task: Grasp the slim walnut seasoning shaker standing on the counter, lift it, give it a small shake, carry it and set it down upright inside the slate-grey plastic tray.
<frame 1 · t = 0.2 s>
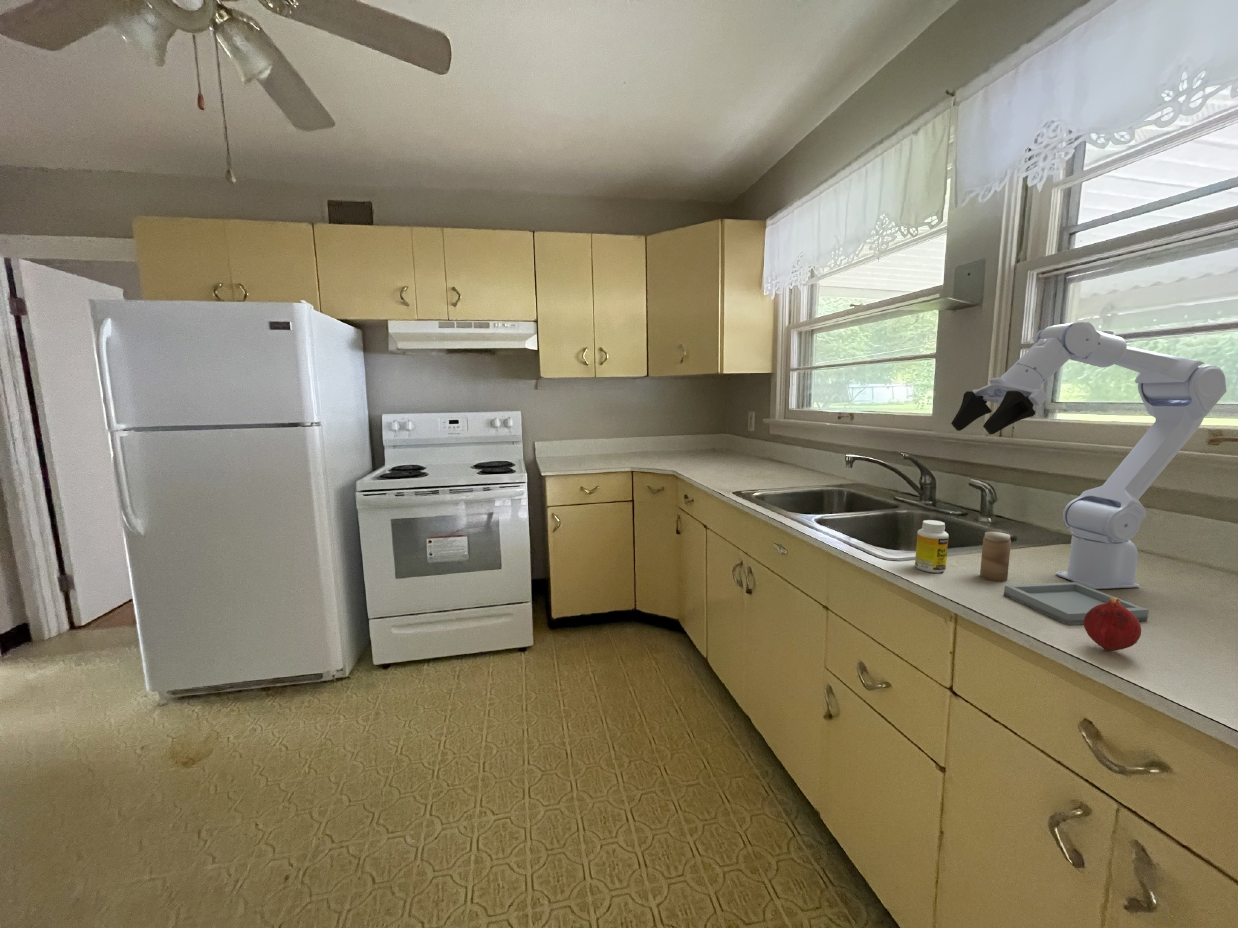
hand: (970, 428, 90), 30 cm above the counter, tool tilted 45°, fingers open, 7 cm apart
supplement bottle: (930, 569, 104), on the counter
tray: (1070, 606, 85), on the counter
shaker: (993, 577, 99), on the counter
onion: (1108, 652, 71), on the counter
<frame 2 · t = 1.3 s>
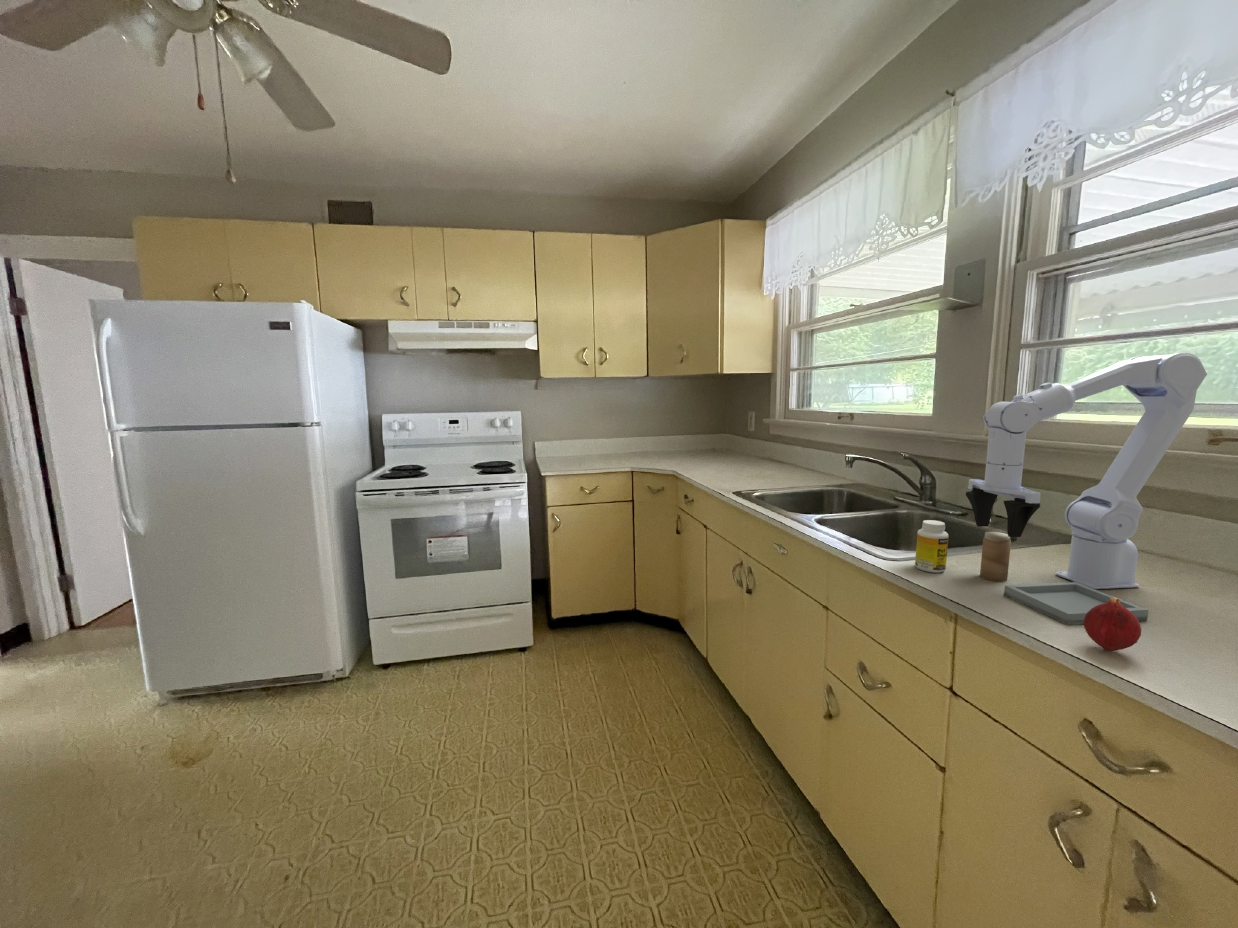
hand: (997, 531, 98), 10 cm above the counter, tool pointing down, fingers open, 7 cm apart
nothing on the counter moved.
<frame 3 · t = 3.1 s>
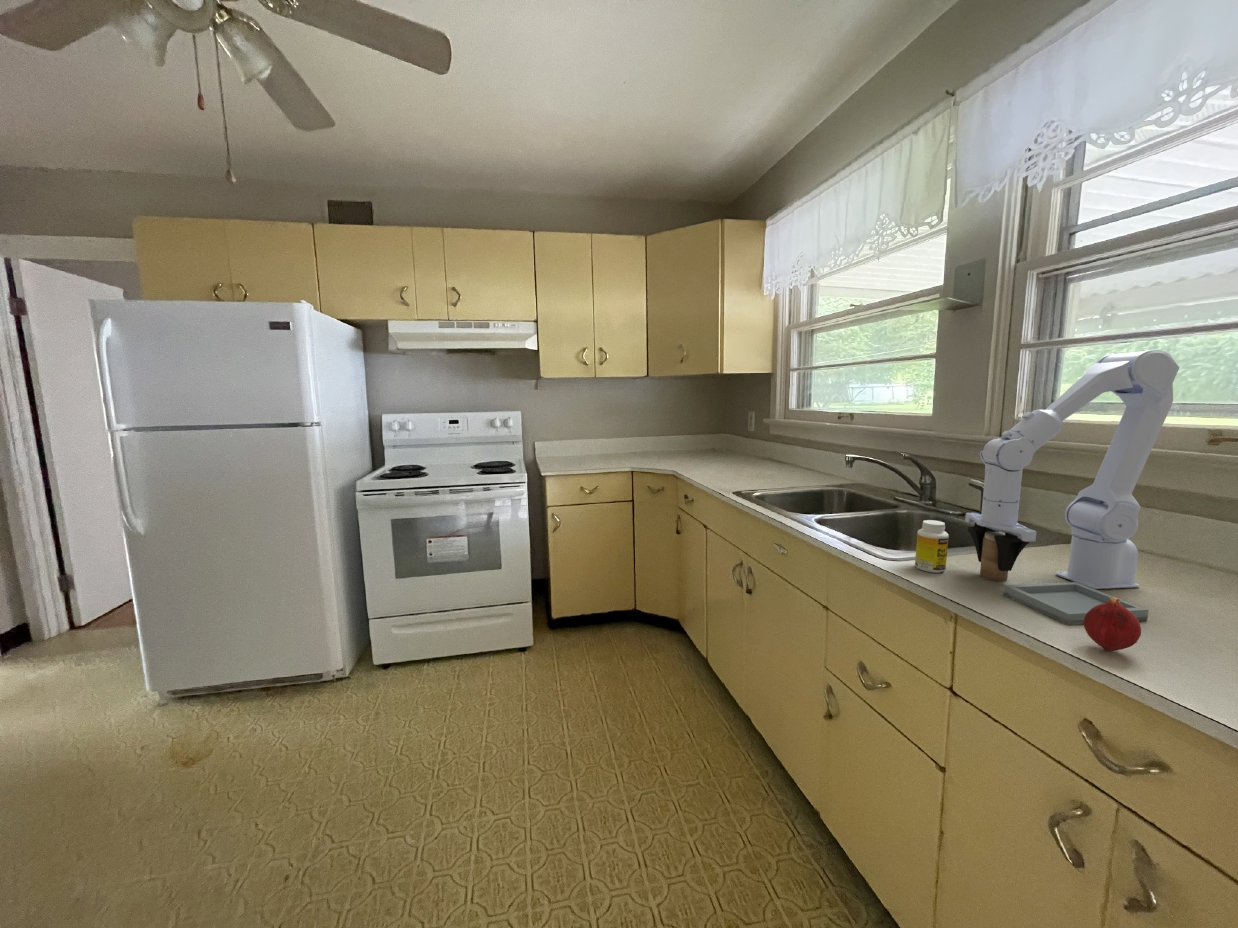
hand: (994, 565, 99), 2 cm above the counter, tool pointing down, fingers closed on shaker, 4 cm apart
shaker: (993, 577, 99), on the counter, touching gripper
everything else where it was.
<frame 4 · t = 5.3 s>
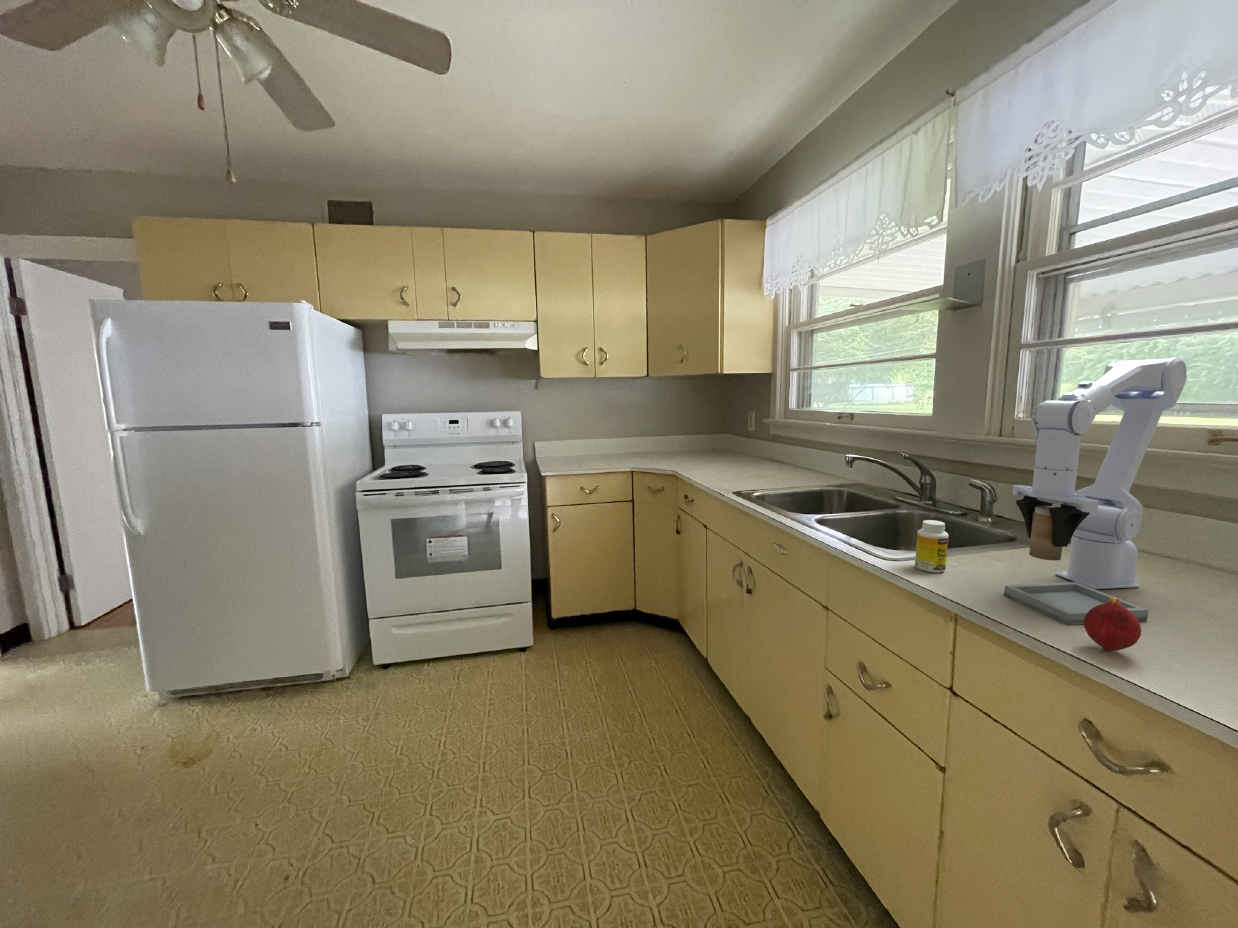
hand: (1047, 542, 89), 10 cm above the counter, tool pointing down, fingers closed on shaker, 4 cm apart
shaker: (1044, 556, 90), point 7 cm above the counter, touching gripper
everything else where it was.
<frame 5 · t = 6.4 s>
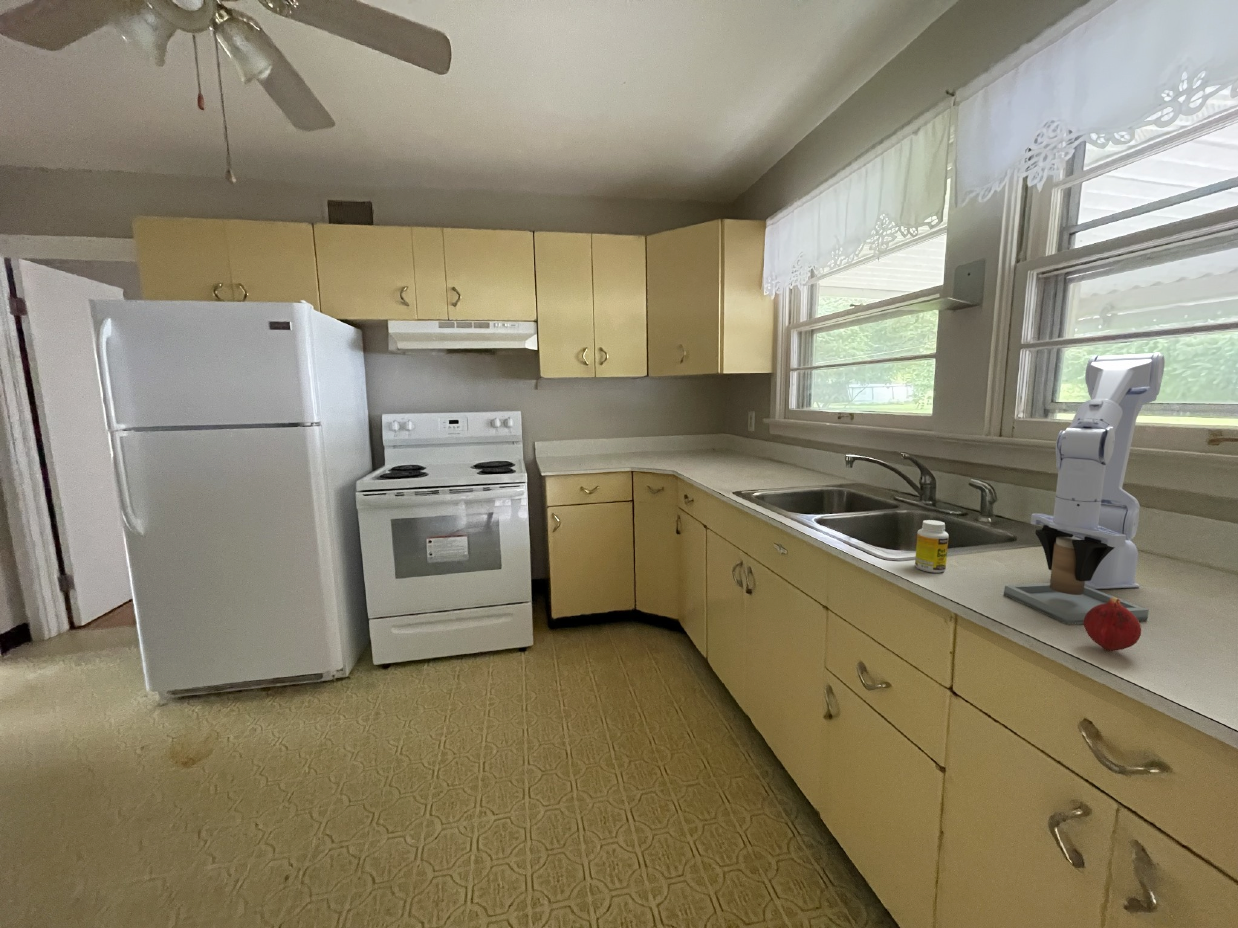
hand: (1068, 574, 86), 5 cm above the counter, tool pointing down, fingers closed on shaker, 4 cm apart
shaker: (1066, 589, 86), point 3 cm above the counter, touching gripper
everything else where it was.
when the fingers open (4 cm above the counter, at t = 7.5 s): shaker stays where it is, resting on tray.
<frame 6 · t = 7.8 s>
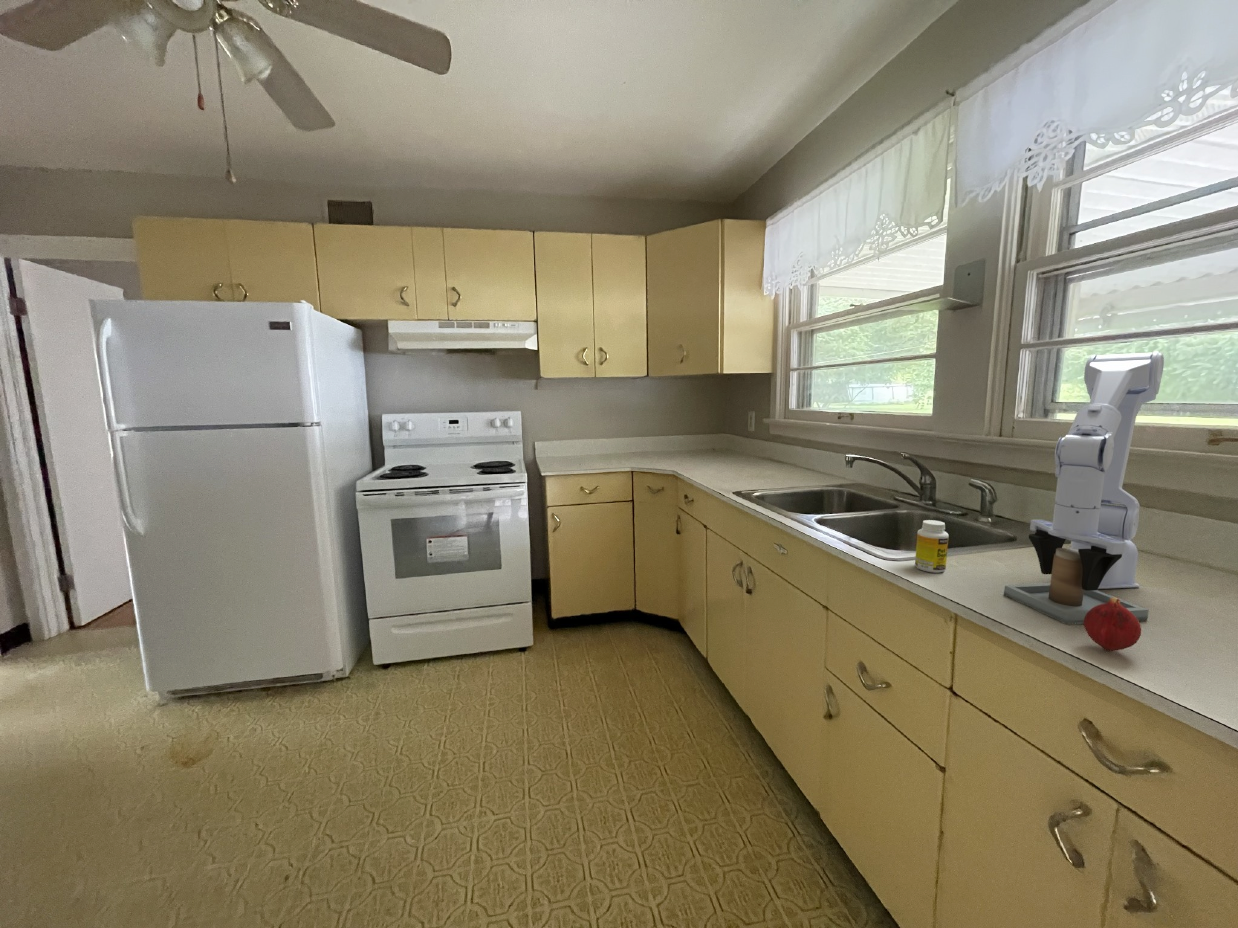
hand: (1068, 581, 86), 4 cm above the counter, tool pointing down, fingers open, 7 cm apart
shaker: (1065, 600, 86), point 1 cm above the counter, touching tray
everything else where it was.
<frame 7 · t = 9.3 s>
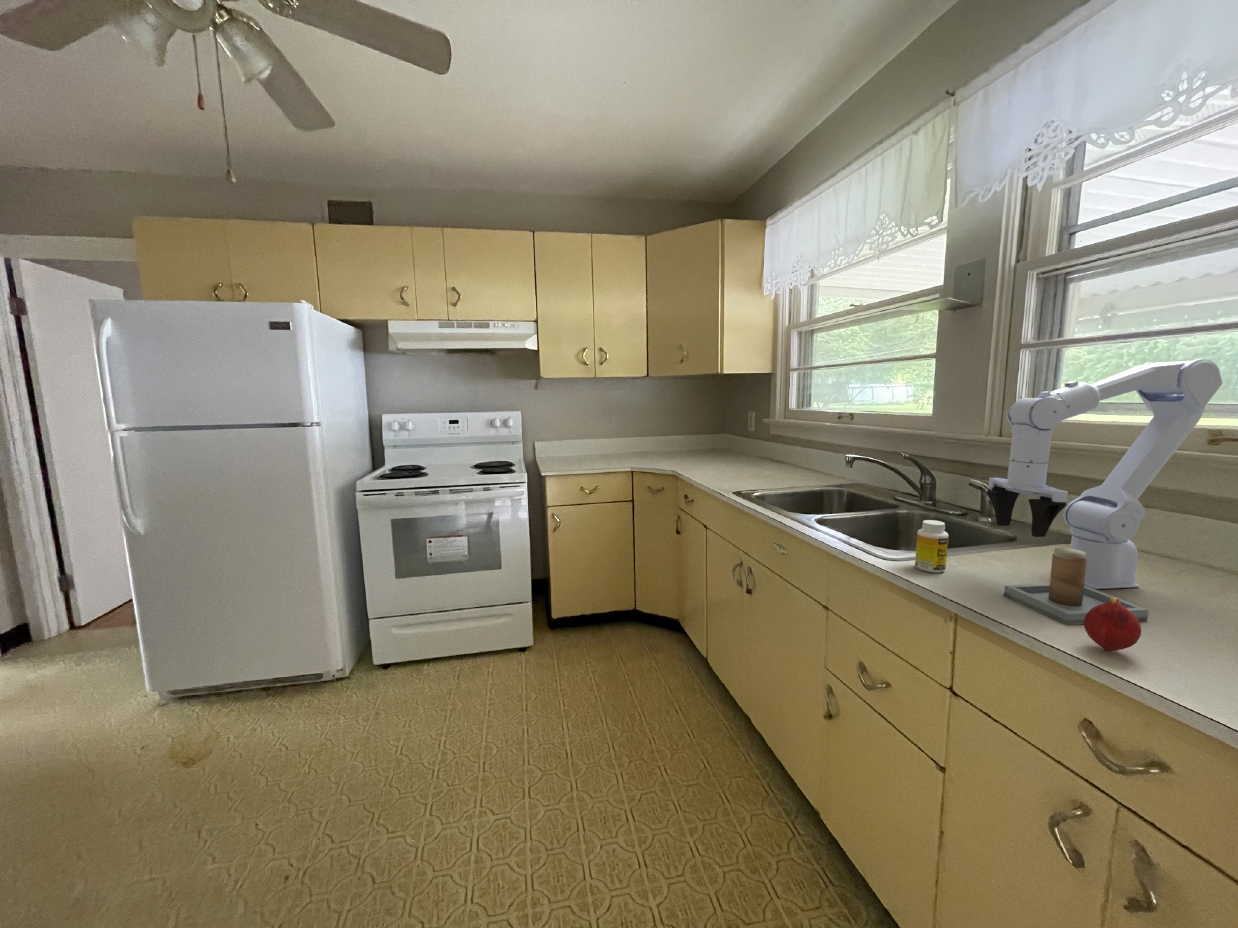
hand: (1020, 530, 95), 10 cm above the counter, tool pointing down, fingers open, 7 cm apart
nothing on the counter moved.
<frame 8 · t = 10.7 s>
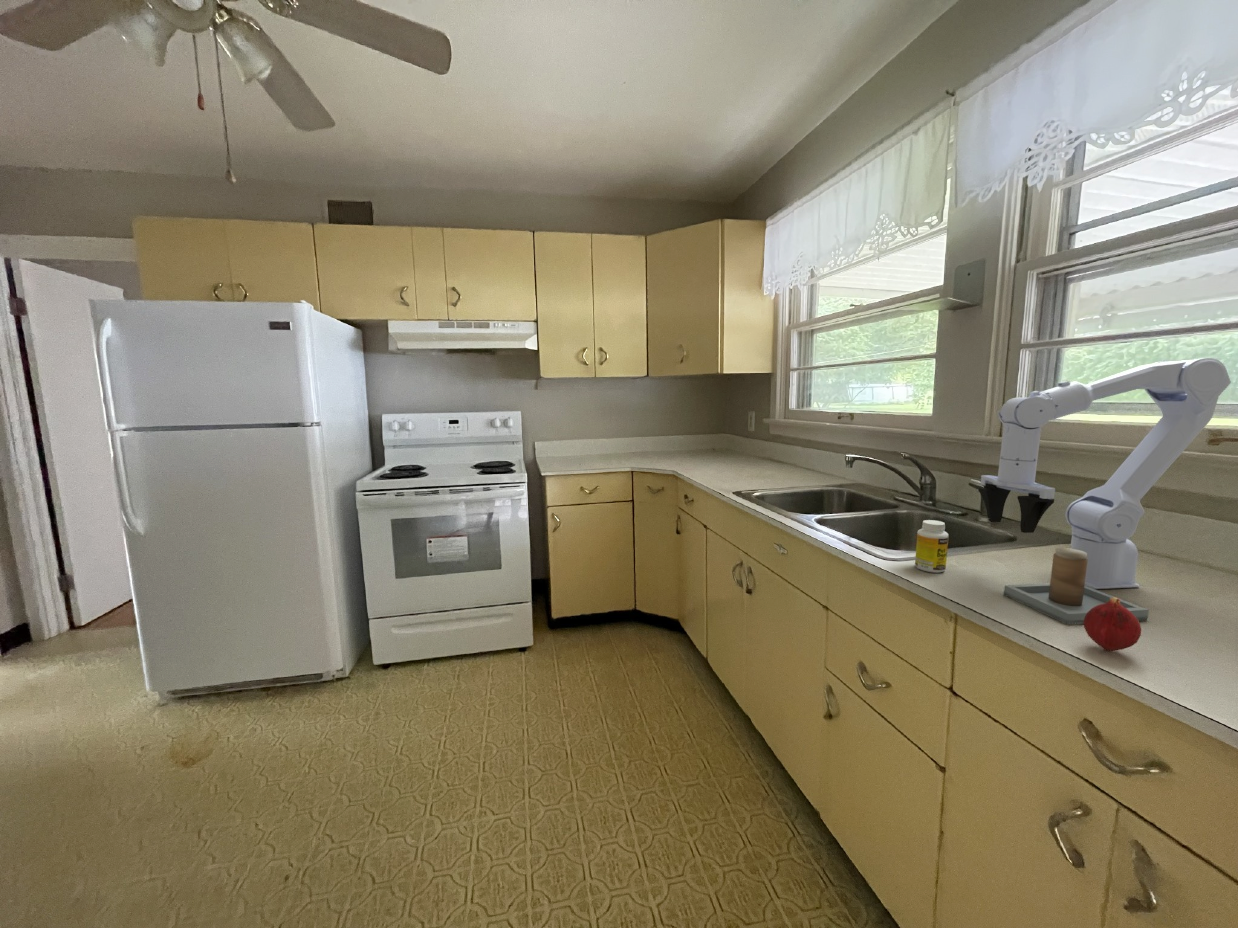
hand: (1010, 526, 98), 10 cm above the counter, tool pointing down, fingers open, 7 cm apart
nothing on the counter moved.
at the end: shaker inside the target area on the tray (1.0 cm from its centre), point 0.6 cm above the tray's base; shaker tilted 1°; the gripper is holding nothing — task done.
